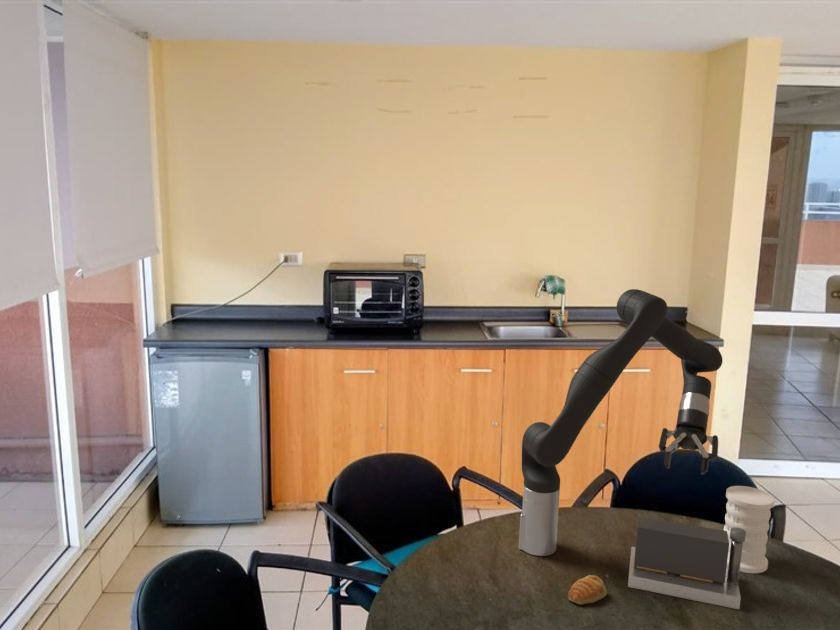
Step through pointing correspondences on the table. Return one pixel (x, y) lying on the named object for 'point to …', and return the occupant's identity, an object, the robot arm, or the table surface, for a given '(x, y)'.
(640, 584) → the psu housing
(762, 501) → the decorative container
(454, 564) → the table surface
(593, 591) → the pastry
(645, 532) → the grey block with knob
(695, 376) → the robot arm
